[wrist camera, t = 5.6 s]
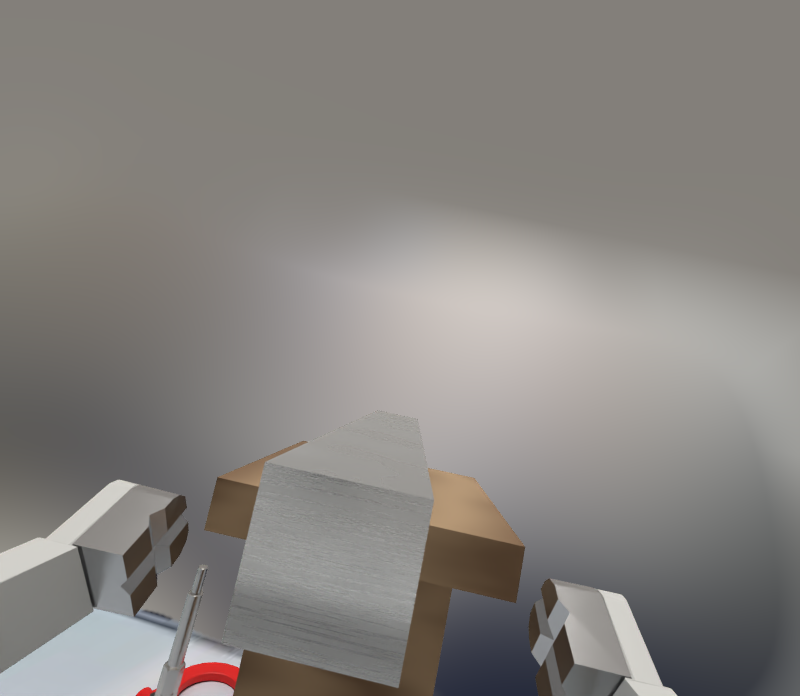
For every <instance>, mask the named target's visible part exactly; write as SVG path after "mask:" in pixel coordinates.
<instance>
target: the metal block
mask: <svg viewBox="0 0 800 696" xmlns="http://www.w3.org/2000/svg"><path fill="white" fill-rule="evenodd" d="M433 503H434V496H433V491H432V487H431V482H430V477H429V472H428V468H427V462H426V458H425V453H424V448H423V444H422V438H421V433H420V429H419V424H418V419H415V418H410V417H405V416H401V415H396V414H391V413H387V412H382V411H375V412H373V413H371V414H369V415H367V416H365V417H362V418H360V419H358V420H356V421H354V422H351V423H349V424H347V425H345V426H343V427H340V428H338V429H336V430H334V431H332V432H329V433H327V434H325V435H323V436H321V437H319V438H316V439H314V440H312V441H310V442H307V443H305V444H303V445H301V446H299V447H297V448H294V449H292V450H290V451H288V452H286V453H283V454H281V455H279V456H277V457H275V458H272V459H270V460H268V461H266V462H265V464H264V468H263V472H262V476H261V480H260V484H259V489H258V493H257V497H256V501H255V505H254V510H253V514H252V518H251V522H250V526H249V531H248V535H247V539H246V543H245V548H244V552H243V556H242V560H241V564H240V568H239V573H238V577H237V581H236V585H235V589H234V593H233V598H232V602H231V606H230V610H229V614H228V619H227V623H226V627H225V631H224V635H223V639H222V644H224V645H228V646H232V647H236V648H240V649H244V650H248V651H252V652H256V653H260V654H264V655H268V656H272V657H276V658H280V659H284V660H288V661H292V662H296V663H300V664H304V665H308V666H312V667H316V668H320V669H324V670H328V671H332V672H336V673H340V674H344V675H348V676H352V677H356V678H360V679H364V680H368V681H372V682H376V683H380V684H384V685H388V686H392V687H396V688H399V683H400V677H401V672H402V667H403V662H404V656H405V651H406V646H407V640H408V635H409V630H410V625H411V619H412V614H413V609H414V603H415V598H416V593H417V588H418V582H419V577H420V572H421V567H422V561H423V556H424V551H425V545H426V540H427V535H428V530H429V524H430V519H431V514H432V508H433Z"/></svg>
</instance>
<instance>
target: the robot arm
mask: <svg viewBox="0 0 800 696" xmlns="http://www.w3.org/2000/svg"><path fill="white" fill-rule="evenodd" d="M186 508H187V506H186V499H185V496H181V495H178V494H174V493H170V492H166V491H162V490H158V489H155V488H150V487H147V486H143V485H139V484H134V483H130V482H126V481H122V480H117V481H114V482H112V483H110V484H108V485H107V486H106V487H105V488H104V489H103V490H101V491H100V492H99V493H98V494H97V495H96V496H94V497H93V498H92V499H91V500H90V501H89V502H87V503H86V504H85V505H84V506H83V507H82V508H81V509H79V510H78V511H77V512H76V513H75V514H74V515H72V516H71V517H70V518H69V519H68V520H67V521H66V522H64V523H63V524H62V525H61V526H60V527H59V528H57V529H56V530H55V531H54V532H53V533H52V534H50V535H49V536H48V537H47V538H46V539H44V538H39V537H38V538H36V539H33V540H31V541H29V542H26V543H24V544H21V545H19V546H17V547H14V548H12V549H9V550H7V551H5V552H3V553H0V673H2V672H3V671H5V670H6V669H8V668H9V667H11V666H12V665H14V664H15V663H17V662H18V661H20V660H21V659H23V658H24V657H26V656H27V655H29V654H30V653H32V652H33V651H35V650H36V649H38V648H39V647H41V646H42V645H44V644H45V643H47V642H48V641H50V640H51V639H53V638H54V637H56V636H57V635H59V634H60V633H62V632H63V631H65V630H66V629H68V628H69V627H71V626H72V625H74V624H75V623H77V622H78V621H80V620H81V619H83V618H84V617H85V616H87V615H88V614H90V613H91V612H93V608H94V609H99V610H103V611H108V612H113V613H117V614H122V615H127V616H132V617H134V616H135V615H136V614H137V612H138V611H139V610H140V608H141V607H142V606H143V604H144V603H145V601H146V600H147V599H148V597H149V596H150V595H151V593H152V592H153V591H154V589H155V588H156V587H157V574H159V573H161V572H163V571H164V570H166V569H168V568H169V567H171V566H172V564H174V562H175V561H176V559H177V558H178V557H179V555H180V553H181V551H182V549H183V547H184V545H185V542H186V540H187V535H188V522H187V520H186V519H185V518H184V516H183V515H182V513H183V512H184V510H185V509H186ZM541 591H542V596H543V599H541V600H539V601H537V602H535V603H534V606H533V608H532V611H531V613H530V621H529V640H530V647H531V653H532V654H533V656H534V657H535V658H536V660H537V661H538V663H539V664H540V666H541V667H540V670H539V671H538V673H537V675H536V677H535V678H536V683H537V689H538V695H539V696H677V695H676V694H675V693H674V691H673V690H672V689H670V688H667V687H663V685H662V683H661V681H660V678H659V676H658V674H657V671H656V669H655V667H654V664H653V662H652V659H651V657H650V655H649V652H648V650H647V647H646V645H645V643H644V640H643V638H642V636H641V633H640V631H639V629H638V626H637V624H636V621H635V619H634V617H633V614H632V612H631V610H630V607H629V605H628V603H627V601H626V599H625V598H624V597H623V596H622V595H619V594H616V593H611V592H606V591H603V590H598V589H594V588H592V587H587V586H582V585H577V584H572V583H568V582H563V581H559V580H554V579H548V580H546V581H545V582H544V584H543V586H542V588H541Z"/></svg>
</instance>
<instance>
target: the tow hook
mask: <svg viewBox="0 0 800 696" xmlns="http://www.w3.org/2000/svg"><path fill="white" fill-rule="evenodd" d="M207 570H208V566H207V565H200V566H199V567H198V570H197V574H196V577H195V580H194V584H193V587H192V590H190V591H189V592H188V595H187V599H186V602H185V605H184V609H183V612H182V615H181V619H180V622H179V626H178V629H177V632H176V636H175V639H174V643H173V646H172V649H171V653H170V656H169V659H168V661H167V662H166V663H165V664H164V666H163V669H162V672H161V676H160V679H159V682H158V686H157V689H155V690H153V691H152V690H151V688H149V687H146V688H144V689H142V690H141V691H140V692H138V694H137V695H136V696H178V695H179V693H180V692H181V691H182V690H184V689H185V688H186V687H188V686H190V685H192V684H194V683H197V682H201V681H208V680H214V681H220V682H223V683H226V684H228V685H230V686H231V687H232V688H233V689H234V690H235V685H236V681H237V677H238V672H239V668H238V667H236V666H233V665H229V664H226V663H217V662H212V663H201V664H197V665H193V666H190V667H188V668H185V662H184V658H185V655H186V651H187V648H188V644H189V641H190V637H191V634H192V630H193V627H194V623H195V620H196V617H197V613H198V610H199V606H200V603H201V599H202V596H203V591H202V587H203V583H204V580H205V577H206V573H207Z"/></svg>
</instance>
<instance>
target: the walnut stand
mask: <svg viewBox="0 0 800 696" xmlns="http://www.w3.org/2000/svg"><path fill="white" fill-rule="evenodd" d="M305 443H307V442H306V441H302V442H300V443H297V444H295V445H292V446H290V447H288V448H285V449H283V450H281V451H278V452H276V453H274V454H271V455H269V456H267V457H264V458H262V459H259V460H257V461H255V462H252V463H250V464H248V465H245V466H243V467H241V468H238V469H236V470H234V471H231V472H229V473H226V474H224V475H222V476H219V477H218V478H217V481H216V485H215V489H214V493H213V497H212V501H211V505H210V509H209V513H208V517H207V521H206V525H205V529H204V530H206V531H211V532H215V533H219V534H224V535H228V536H232V537H237V538H241V539H245V540H246V539H247V535H248V531H249V526H250V522H251V518H252V514H253V510H254V505H255V501H256V497H257V493H258V489H259V484H260V480H261V476H262V472H263V468H264V464H265V462H266V461H268V460H270V459H272V458H275V457H277V456H279V455H281V454H283V453H286V452H288V451H290V450H292V449H294V448H297V447H299V446H301V445H303V444H305ZM428 472H429V477H430V482H431V487H432V491H433V496H434V503H433V508H432V514H431V519H430V524H429V530H428V535H427V540H426V545H425V551H424V556H423V561H422V567H421V572H420V577H419V582H418V588H417V593H416V598H415V603H414V609H413V614H412V619H411V625H410V630H409V635H408V640H407V646H406V651H405V656H404V662H403V667H402V672H401V677H400V683H399V688H396V687H392V686H388V685H384V684H380V683H376V682H372V681H368V680H364V679H360V678H356V677H352V676H348V675H344V674H340V673H336V672H332V671H328V670H324V669H320V668H316V667H312V666H308V665H304V664H300V663H296V662H292V661H288V660H284V659H280V658H276V657H272V656H268V655H264V654H260V653H256V652H252V651H248V650H244V651H243V655H242V659H241V664H240V668H239V672H238V677H237V681H236V685H235V690H234V694H233V696H433V692H434V686H435V680H436V675H437V669H438V663H439V658H440V653H441V647H442V642H443V636H444V630H445V625H446V619H447V613H448V608H449V603H450V597H451V591H452V588H454V589H459V590H462V591H467V592H471V593H476V594H480V595H484V596H488V597H493V598H497V599H501V600H505V601H509V602H514V603H516V600H517V593H518V587H519V581H520V575H521V569H522V563H523V556H524V550H525V547H524V545H523V543H522V542H521V541H520V539H519V538H518V537H517V535H516V534H515V533H514V531H513V530H512V528H511V527H510V526H509V524H508V523H507V522H506V521H505V519H504V518H503V516H502V515H501V514H500V512H499V511H498V510H497V508H496V507H495V505H494V504H493V503H492V501H491V500H490V499H489V498H488V496H487V495H486V493H485V492H484V491H483V489H482V488H481V487H480V485H479V484H478V483H477V481H476V480H475V478H471V477H467V476H462V475H457V474H452V473H448V472H444V471H439V470H434V469H430V468H428Z"/></svg>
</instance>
